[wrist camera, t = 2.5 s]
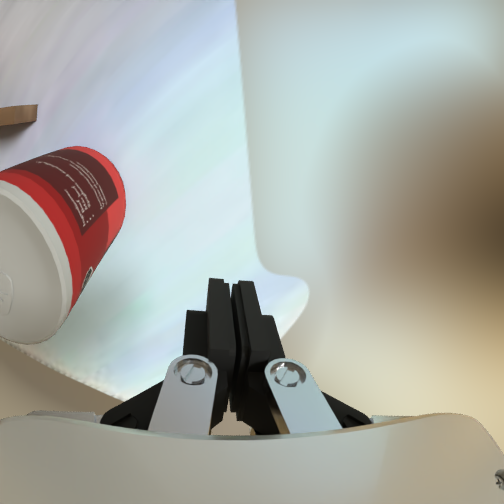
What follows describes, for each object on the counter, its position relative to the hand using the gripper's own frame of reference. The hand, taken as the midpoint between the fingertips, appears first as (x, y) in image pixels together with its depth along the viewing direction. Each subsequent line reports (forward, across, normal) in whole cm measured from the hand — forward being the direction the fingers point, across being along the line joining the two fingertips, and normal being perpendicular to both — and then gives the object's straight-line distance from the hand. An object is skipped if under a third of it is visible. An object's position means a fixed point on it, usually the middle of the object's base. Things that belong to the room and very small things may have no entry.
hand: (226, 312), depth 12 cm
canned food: (+11, +10, -1) cm, 15 cm away
